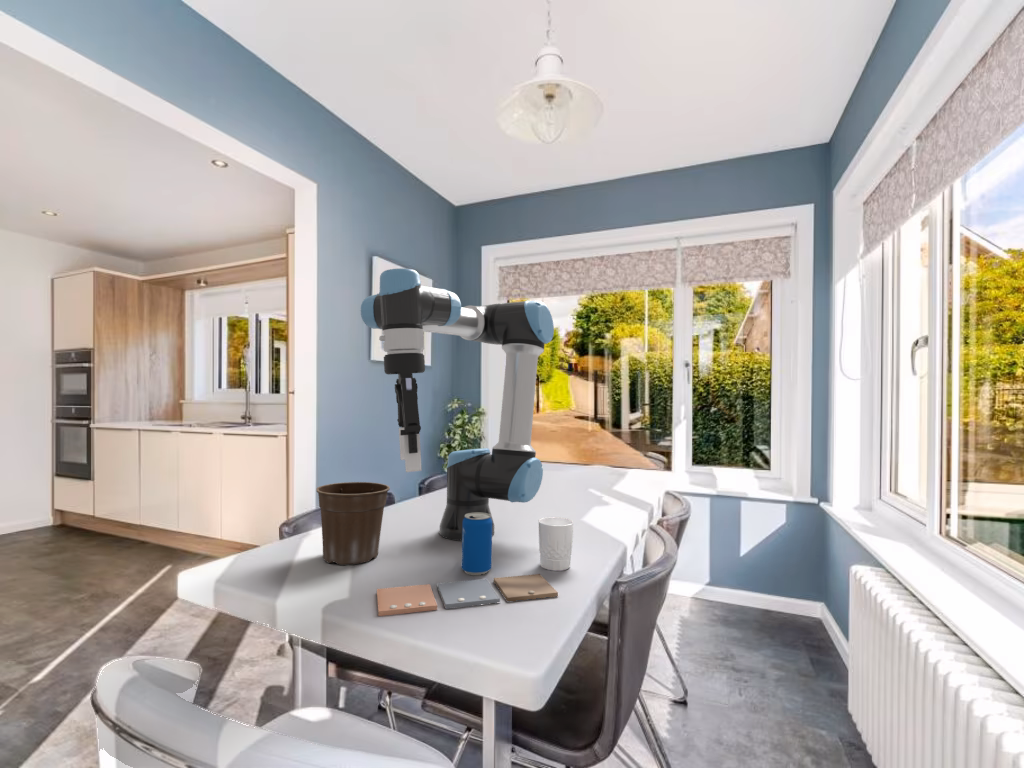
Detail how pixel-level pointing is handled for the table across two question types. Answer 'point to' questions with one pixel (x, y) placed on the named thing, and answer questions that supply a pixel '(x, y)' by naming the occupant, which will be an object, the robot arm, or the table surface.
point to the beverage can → (476, 543)
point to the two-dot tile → (467, 593)
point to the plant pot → (351, 520)
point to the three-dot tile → (405, 600)
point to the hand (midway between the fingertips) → (410, 465)
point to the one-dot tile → (524, 587)
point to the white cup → (555, 543)
